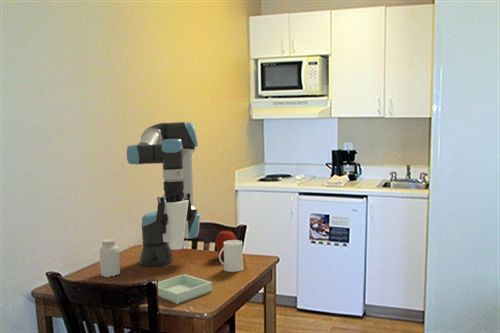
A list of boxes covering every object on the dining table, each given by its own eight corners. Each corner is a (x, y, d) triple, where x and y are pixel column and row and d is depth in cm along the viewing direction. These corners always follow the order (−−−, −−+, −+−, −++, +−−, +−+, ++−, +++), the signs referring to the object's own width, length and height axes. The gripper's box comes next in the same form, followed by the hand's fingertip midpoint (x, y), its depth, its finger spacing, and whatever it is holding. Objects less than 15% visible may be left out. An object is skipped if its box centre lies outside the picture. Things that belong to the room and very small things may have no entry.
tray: (150, 293, 193) (149, 284, 192) (184, 282, 205) (184, 273, 204) (177, 304, 181) (177, 294, 181) (212, 291, 193) (211, 282, 193)
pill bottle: (114, 270, 224) (112, 237, 222) (123, 274, 218) (121, 240, 217) (97, 275, 218) (95, 240, 217) (106, 278, 213) (104, 243, 211)
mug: (224, 274, 213) (223, 246, 212) (213, 270, 220) (212, 243, 219) (247, 269, 220) (246, 242, 219) (236, 264, 227) (235, 238, 226)
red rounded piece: (225, 262, 232) (224, 232, 231) (211, 258, 239) (210, 229, 238) (241, 257, 239) (241, 228, 237) (228, 253, 246) (227, 225, 245)
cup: (165, 245, 198) (163, 199, 197) (192, 244, 198) (190, 198, 196) (159, 251, 188) (157, 203, 186) (187, 251, 187) (185, 203, 186)
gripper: (155, 183, 181) (158, 246, 182) (201, 178, 196) (203, 235, 197) (143, 182, 186) (146, 243, 188) (189, 177, 201) (191, 233, 203)
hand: (176, 239), depth 193 cm, fingers closed on cup, 8 cm apart
